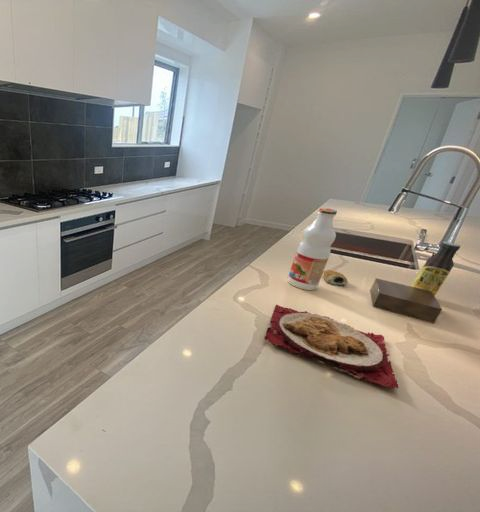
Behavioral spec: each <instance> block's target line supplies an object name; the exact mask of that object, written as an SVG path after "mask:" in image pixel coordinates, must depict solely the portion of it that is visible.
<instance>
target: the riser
mask: <svg viewBox="0 0 480 512" xmlns="http://www.w3.org/2000/svg"><path fill="white" fill-rule="evenodd" d="M411 286H412V285H406V284H403V283H398V282H393V281H389V280H386V279H381V278H376V277H375V279H374V281H373V284H372V285H371V288H370V291H369V292H370V297H371V303H372V307H374V308H377V309H380V310H385V311H388V312H391V313H396V314H399V315H403V316H406V317H410V318H414V319H417V320H420V321H424V322H427V323H431V324H435V323H436V321H437V319H438V318H439V316H440V314H441V313H442V310H443V308H442V306H441V305H440V303H439V301H438V299H437V298H436V297H435V296H436V295H435V296H434V295H433V293H432V291H428V290H423V289H419V288H415V287H411Z"/></svg>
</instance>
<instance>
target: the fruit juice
mask: <svg viewBox="0 0 480 512" xmlns="http://www.w3.org/2000/svg"><path fill="white" fill-rule="evenodd" d="M337 213H338V212H337V210H336V209H334V208H329V207H319V208H318V210H317V216H316V218H315V219H314V221H313V222H312V223H311V224H309V225H308V226H306V227H305V228H304V230H303V232H302V240H301V241H300V242H299V243H298V245H297V248H296V252H295V255H294V257H293V260H292V264H291V267H290V270H289V273H288V275H287V282H288V283H289V284H290V285H291V286H293V287H295V288H298V289H301V290H305V291H306V290H307V291H314V290H316V289H317V288H318V286H319V284H320V282H321V279H322V276H323V273H324V271H325V268H326V266H327V263H328V260H329V258H330V255H331V251H332V248H331V247H332V244H333V243H334V242H335V240H336V238H337V232H336V230H335V228H334V217H336V215H337Z"/></svg>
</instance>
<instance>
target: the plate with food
mask: <svg viewBox="0 0 480 512" xmlns="http://www.w3.org/2000/svg"><path fill="white" fill-rule="evenodd" d="M272 312H273V313H272V315H271V318H270V320H269V322H270V324H271V326H269V327H267V329H266V332H265V335H264V338H263V339H264V340H266V341H268V343H272V344H274V346H281V347H283V348H286V349H288V351H289V353H290V352H291V353H293V354H300V355H301V356H304V357H307V358H309V359H313V360H317V362H318V363H322V364H323V365H325V362H323V360H320V359H319V358H316V357H321V358H324V359H326V360H328V361H333V362H334V363H337V364H339V366H338V367H339V368H338V367H335V366H333V369H334V371H338V373H340V374H341V373H342V372H343V373H346V374H348V375H349V376H350V377H353V378H354V379H358V380H361V381H363V380H364V382H369V383H370V384H372V383H374V384H378V385H380V386H383V387H387V388H391V389H399V388H400V386H399V384H398V380H397V379H396V374H395V373H394V372H395V371H394V370H393V367H392V362H391V360H389V359H388V357H390V354H389V353H388V354H387V348H386V343H384V342H385V336H384V335H383V334H374V332H371V333H370V332H367V333H366V332H363V331H361V330H359V329H355V328H354V327H351V325H349V324H346V323H343V322H340V321H339V322H338V321H337V320H335V319H333V318H331V317H329V316H326V315H324V316H323V315H320V314H317V313H311V312H308V311H307V310H305V311H298V310H296V309H293V308H292V307H283V306H281V305H279V304H275V305H274V309H273V311H272ZM314 356H316V357H314Z"/></svg>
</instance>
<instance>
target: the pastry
mask: <svg viewBox="0 0 480 512" xmlns="http://www.w3.org/2000/svg"><path fill="white" fill-rule="evenodd" d="M322 276H323V279H324V280H325V283H327V284H330V285H336V286H337V285H338V286H339V285H340V286H345V285H347V284H348V283H349V281H348V278H347V277H346V276H345V275H344V274H343V273H341V272H339V271H334V270H332V269H326V270H324V271H323V274H322Z"/></svg>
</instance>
